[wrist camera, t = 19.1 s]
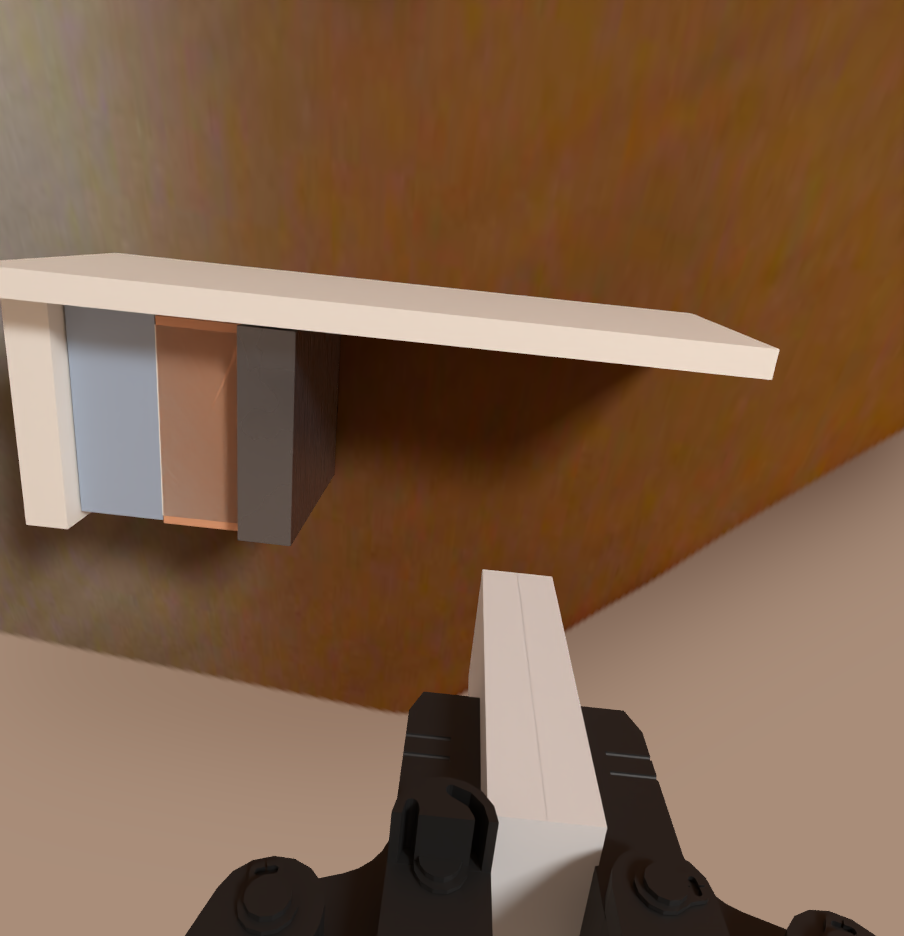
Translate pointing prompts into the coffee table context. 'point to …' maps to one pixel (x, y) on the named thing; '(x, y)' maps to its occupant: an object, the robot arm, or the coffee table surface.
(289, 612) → the coffee table surface
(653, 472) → the coffee table surface
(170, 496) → the rust book
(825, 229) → the coffee table surface
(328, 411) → the bookend
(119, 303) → the white upright backboard
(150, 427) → the blue book
